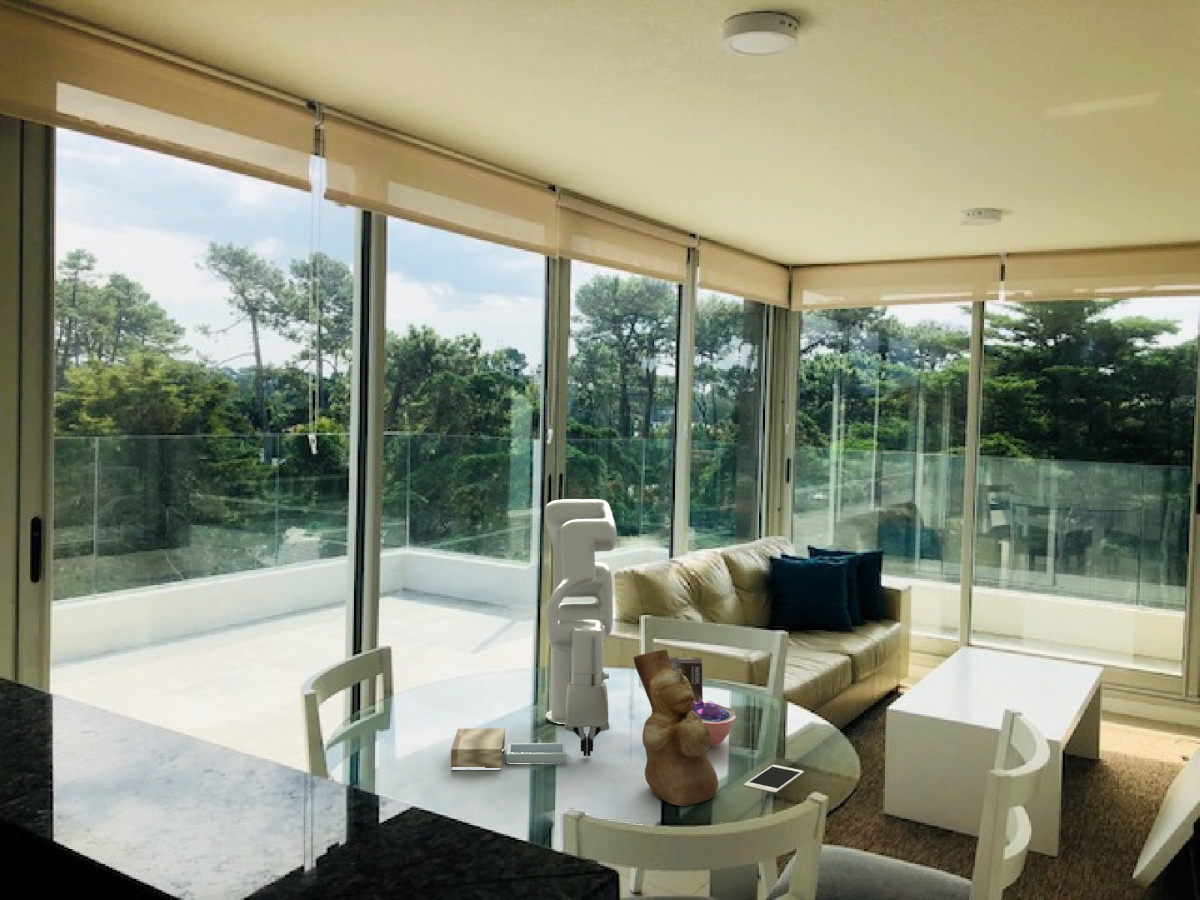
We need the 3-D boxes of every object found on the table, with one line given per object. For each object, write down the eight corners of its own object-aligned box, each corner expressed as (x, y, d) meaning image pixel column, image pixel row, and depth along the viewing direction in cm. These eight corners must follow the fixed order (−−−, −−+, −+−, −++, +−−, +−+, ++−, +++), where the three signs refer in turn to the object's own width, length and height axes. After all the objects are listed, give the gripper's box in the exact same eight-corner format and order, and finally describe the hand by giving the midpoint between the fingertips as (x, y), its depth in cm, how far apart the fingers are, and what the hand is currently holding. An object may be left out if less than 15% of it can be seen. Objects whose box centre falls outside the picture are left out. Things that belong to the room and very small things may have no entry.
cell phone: (742, 787, 218) (743, 784, 218) (773, 766, 231) (773, 764, 231) (775, 794, 213) (775, 791, 213) (804, 773, 227) (804, 770, 227)
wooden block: (504, 748, 242) (504, 728, 242) (501, 770, 226) (501, 748, 226) (457, 748, 241) (458, 728, 241) (451, 770, 226) (451, 749, 226)
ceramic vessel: (676, 813, 201) (677, 668, 201) (613, 782, 219) (613, 648, 218) (732, 797, 211) (734, 658, 210) (667, 768, 228) (668, 640, 228)
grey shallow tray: (565, 753, 239) (565, 742, 239) (566, 764, 231) (566, 753, 231) (508, 753, 238) (508, 743, 238) (506, 764, 230) (506, 754, 230)
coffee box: (702, 715, 271) (703, 657, 271) (702, 722, 264) (703, 662, 264) (669, 714, 272) (669, 656, 271) (668, 721, 265) (669, 661, 265)
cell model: (683, 728, 259) (683, 685, 259) (749, 744, 246) (749, 699, 246) (645, 744, 246) (645, 699, 246) (712, 761, 233) (712, 714, 233)
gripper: (617, 674, 239) (617, 749, 239) (555, 674, 238) (555, 749, 238) (619, 681, 231) (619, 759, 232) (556, 682, 230) (555, 760, 231)
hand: (586, 754), depth 235 cm, fingers closed
